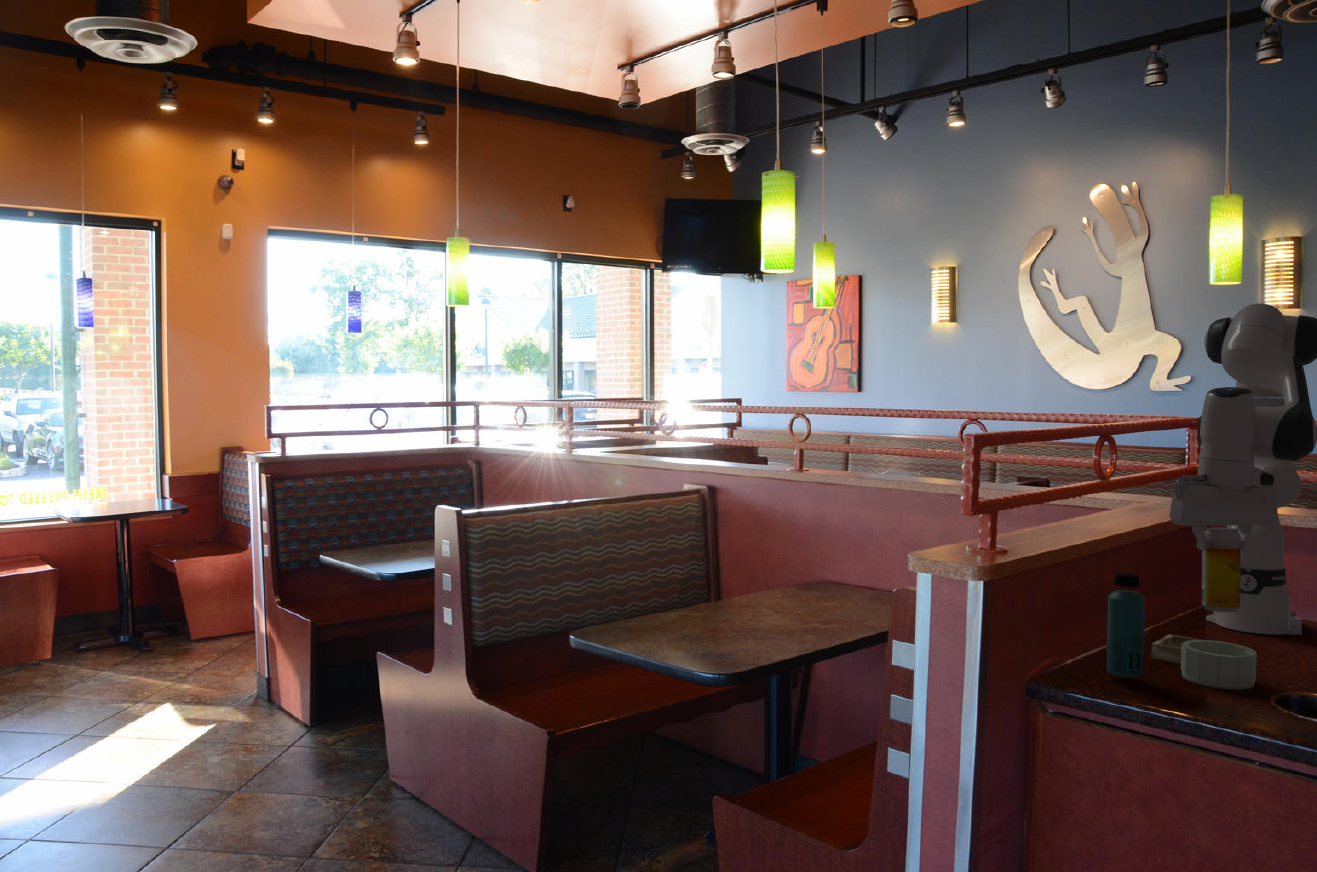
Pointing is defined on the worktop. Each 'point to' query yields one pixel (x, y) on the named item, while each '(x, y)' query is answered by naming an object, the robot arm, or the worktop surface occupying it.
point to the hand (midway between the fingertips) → (1221, 549)
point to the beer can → (1221, 570)
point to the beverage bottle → (1126, 629)
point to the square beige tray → (1169, 648)
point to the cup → (1218, 664)
